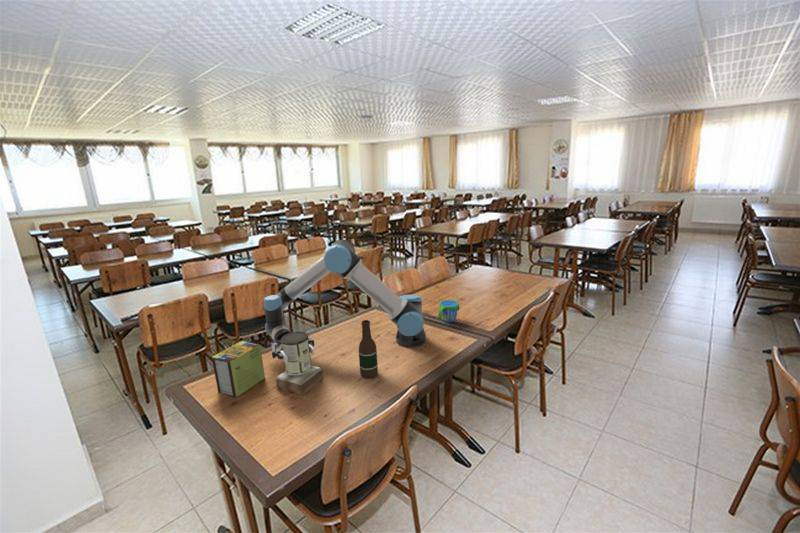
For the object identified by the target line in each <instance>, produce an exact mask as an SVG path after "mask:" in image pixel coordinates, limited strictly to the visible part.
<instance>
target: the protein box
mask: <svg viewBox="0 0 800 533" xmlns="http://www.w3.org/2000/svg"><path fill="white" fill-rule="evenodd" d="M211 361H212V366H213V372H214V377H215V378H214V379H215V382H216V383H215V384H216V388H217V392H218V393H220V392H221V393H220V394H223V393H224V394H225V395H227V396H231V397H233V396H234V398H237V396H238V397H239V396H240V394H241V395H242V394H244V393H245V392H246V391H248V390H249V389H251V388H252V387H254V386H255V385H257V384H258V383H259V382H261V381H262V380H264V379H265V378H266V376H265V375H266V374H265V369H264V363H263V356H262V349H261V344H260V343H255V342H249V341H245V340H240V341H239V342H237V343H235V344H233V345H231V346H230V347H227V348H226V349H224V350H223V351H221V352H218V353H217V354H214V355H213V356H212V357H211ZM224 394H223V395H224Z"/></svg>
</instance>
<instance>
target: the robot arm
mask: <svg viewBox="0 0 800 533" xmlns="http://www.w3.org/2000/svg"><path fill="white" fill-rule="evenodd" d="M362 262H363V260H362V258H361V257H360V256H359V255H358V254H357V253H356V249H355V246H354V245H353V243H351V242H350V241H349V240H346V239H338V240H335V242H333V243H332V244H331V245H330V246H329V247H328V248H327V250H326V251H325V252H324V253H323V256H322V257H320V259H318V261H316V262H314V264H312V265H311V266H310V267H309V268H308V269H306V270H304V272H302V273H301V274H300V275H299V276H297V277H296V278H294V279H293V281H291V282H290V283H289V284H287V285H286V286H285V287H284V288H282V289H281V290H280V291H278V292H277V293H276V294H271V295H268V296H266V297H264V298H263V308H264V314H265V322H266V323H265V325H264V326H265V327H264V329H265V331H266V333H267V334H268V336H269V337H271V339H272V340H273V341H274V342H273V341H271V342H270V349H271V355H272V356H271V357H272V359H275V358H277V359H278V360H282V361H284V364H285V363H286V364H287V363H288V357H287V356H286V354H285V353H284V352H283V346H282V341H281V338H282V337H283V336H284V335H286V334H288V333H292V331H291V330H289V328H287V327H286V326H285V319H284V310H285V309H286V308H287V307H288V306H289V305H290V304H291V303H293V302H295V301H296V299H297V298H299V297H300V296H301V295H302V294H304V293H305V292H306V291H308V290H309V289H310V288H312V287H313V286H314V285H315V284H316V283H318V282H319V281H320V280H321V279H323V278H324V277H325V276H327V275H328V274H329V273H333V274H336V275H339V276H340V277H341V278H342V279H344V280H345V279H346V280H347V279H348V280H349V281H351V282H352V283H353V284H354V285H355V286H357V287H358V288H359V289H360V290H361V291H362V292H363V293H365V294H366V296H368V297H369V298H370V299H371V300H373V301H374V302H375V303H376V304H377V305H378V306H380V307H381V308H382V309H383V310H384V311H385V312H386V313H387V314H388V316H389V317H388V319H389V320H390V321H392V323H394V324H395V325H396V326H397V330H396V334H395V341H396V343H397V344H398V345H399V346H403V347H407V348H409V347H418V346H421V345H423V344H425V343H426V342H427V334H426V331H425V328H424V324H425V323H424V322H425V319H424V316H423V315H424V314H423V307H422V306H423V305H422V304H423V303H422V302H423V301H422V296H420V295H419V294H403V295H400V296H398V294H397V293H395V292H394V291H393V290H392V289H390V288H389V286H387V285H386V284H385V283H384V282H383V281H382V280H381V279H380V278H378V277H377V276H376V275H375V274H373V272H372V271H370V270H369V269H368V268H367V267H366V266H365V265H364V264H363V263H362ZM308 340H309V349H310V355H312V356H315V354H316V352H315V340H314V339H312V338H309V337H308ZM277 347H278V348H277ZM276 349H277V350H276Z"/></svg>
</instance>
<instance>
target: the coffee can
mask: <svg viewBox="0 0 800 533" xmlns="http://www.w3.org/2000/svg"><path fill="white" fill-rule="evenodd" d="M308 338H309V334H308V332H306V331H299V330H298V331H293V332H292V331H291V333H288V334H286V335H284V336H283V337H282V338H281V341H282V346H283V352H284V353H285V354H286V356H287V357H288V363H287V364H286V363H285V362H284V367H285V371H286V373H287V374H289V375H302V374H305V373H307V372H308V371H310V370H311V368H312V366H313V365H312V359H311V358H312V357H311V353H310V349H309V340H308Z"/></svg>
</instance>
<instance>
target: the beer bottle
mask: <svg viewBox="0 0 800 533" xmlns="http://www.w3.org/2000/svg"><path fill="white" fill-rule="evenodd" d="M360 323H361V324H360V325H361V326H362V327H361V331H362V332H361V333H362V334H361V337H362V338H361V340H360V341H359V344H358V357H359V360H358V361H359V371H360V373H359V374H360V377H361V378H363V379H364V380H372V379H375V378H376V377H378V376H379V375H378V374H379V370H378V369H379V368H378V354H377V353H378V352H377V351H378V350H377V344H376V342H375V340H374V339H373V337H372V334H371V321H370V320H368V319H363V320H362V321H361V322H360Z"/></svg>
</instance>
